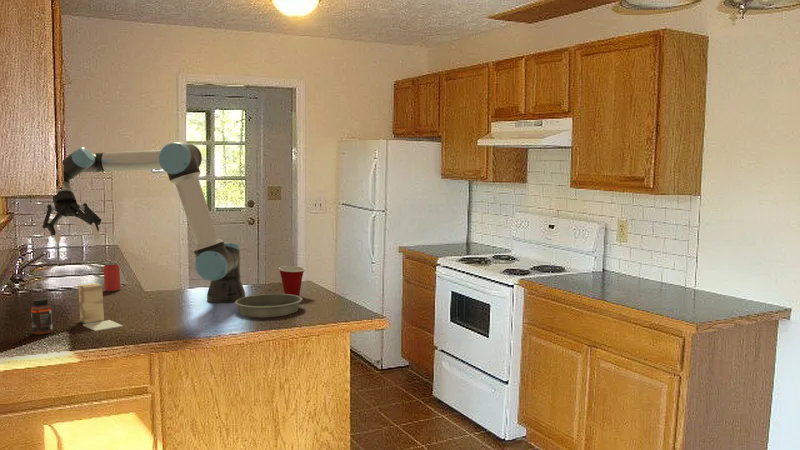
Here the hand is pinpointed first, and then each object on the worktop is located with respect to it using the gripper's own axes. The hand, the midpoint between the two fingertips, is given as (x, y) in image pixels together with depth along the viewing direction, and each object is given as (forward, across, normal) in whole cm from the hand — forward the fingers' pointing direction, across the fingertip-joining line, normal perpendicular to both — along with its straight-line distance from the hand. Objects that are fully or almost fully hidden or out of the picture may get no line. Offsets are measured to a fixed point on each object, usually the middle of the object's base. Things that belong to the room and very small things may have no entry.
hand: (78, 239), depth 242 cm
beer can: (-12, -28, -52) cm, 60 cm away
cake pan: (+49, -53, +10) cm, 73 cm away
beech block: (+28, 0, -12) cm, 30 cm away
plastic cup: (+38, -74, -1) cm, 83 cm away
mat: (+34, 0, -5) cm, 35 cm away
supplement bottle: (+31, +17, -9) cm, 37 cm away
